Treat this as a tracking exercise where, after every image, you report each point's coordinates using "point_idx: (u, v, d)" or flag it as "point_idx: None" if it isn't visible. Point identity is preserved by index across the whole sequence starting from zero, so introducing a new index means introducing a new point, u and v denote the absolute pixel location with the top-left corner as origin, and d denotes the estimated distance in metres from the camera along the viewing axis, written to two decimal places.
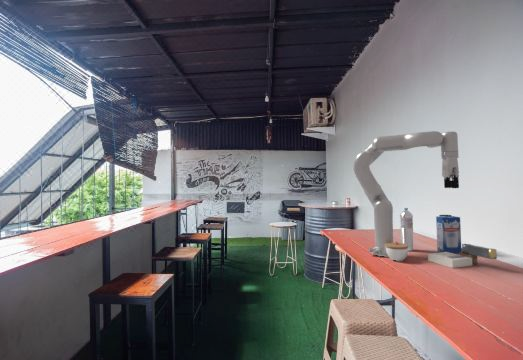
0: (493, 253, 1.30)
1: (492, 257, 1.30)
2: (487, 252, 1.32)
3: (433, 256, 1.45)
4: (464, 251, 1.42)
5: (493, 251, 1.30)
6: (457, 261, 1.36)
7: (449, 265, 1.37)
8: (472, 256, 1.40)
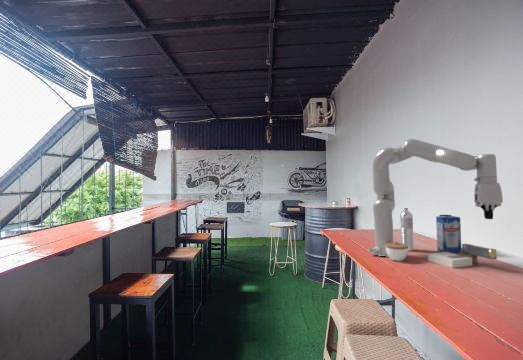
0: (493, 253, 1.30)
1: (492, 257, 1.30)
2: (487, 252, 1.32)
3: (433, 256, 1.45)
4: (464, 251, 1.42)
5: (493, 251, 1.30)
6: (457, 261, 1.36)
7: (449, 265, 1.37)
8: (472, 256, 1.40)
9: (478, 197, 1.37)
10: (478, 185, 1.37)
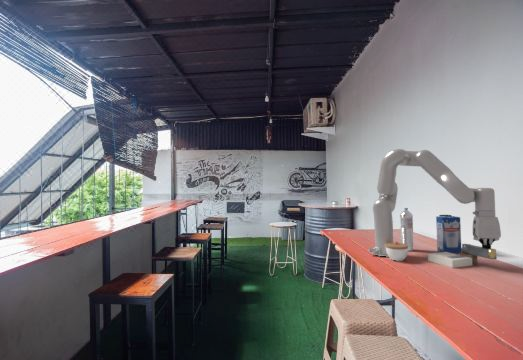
0: (493, 253, 1.30)
1: (492, 257, 1.30)
2: (487, 252, 1.32)
3: (433, 256, 1.45)
4: (464, 251, 1.42)
5: (493, 251, 1.30)
6: (457, 261, 1.36)
7: (449, 265, 1.37)
8: (472, 256, 1.40)
9: (476, 231, 1.36)
10: (476, 219, 1.37)
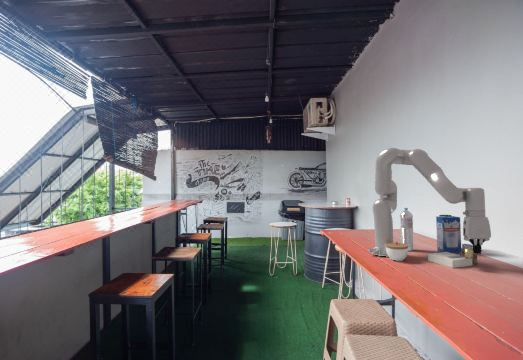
0: (466, 252, 1.32)
1: (465, 256, 1.33)
2: None
3: (433, 256, 1.45)
4: (462, 250, 1.44)
5: (466, 250, 1.32)
6: (457, 261, 1.36)
7: (449, 265, 1.37)
8: None
9: (466, 231, 1.35)
10: (466, 219, 1.36)
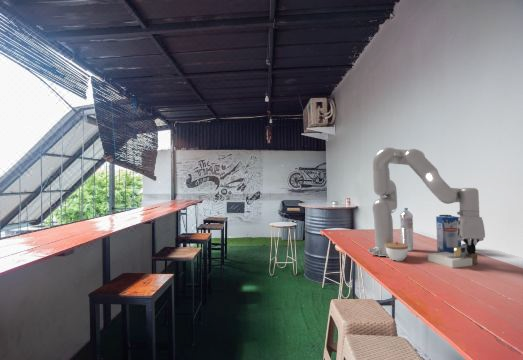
0: (454, 251, 1.36)
1: (454, 255, 1.36)
2: None
3: (433, 256, 1.45)
4: None
5: (454, 249, 1.36)
6: (457, 261, 1.36)
7: (449, 265, 1.37)
8: (472, 256, 1.40)
9: (460, 231, 1.36)
10: (460, 219, 1.36)
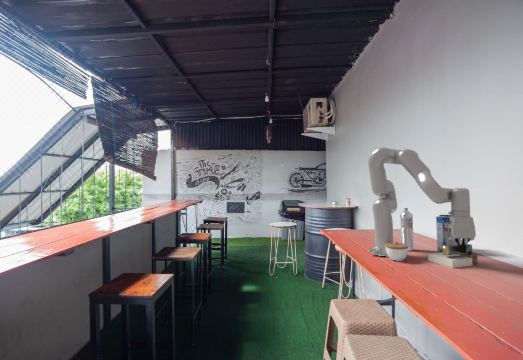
0: None
1: None
2: None
3: (433, 256, 1.45)
4: None
5: None
6: (457, 261, 1.36)
7: (449, 265, 1.37)
8: (472, 256, 1.40)
9: (452, 231, 1.38)
10: (452, 219, 1.38)
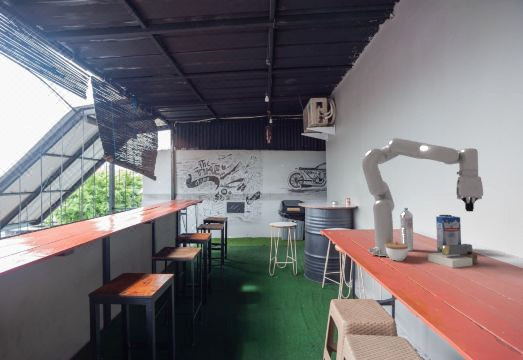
0: (442, 248, 1.42)
1: None
2: None
3: (433, 256, 1.45)
4: None
5: (442, 246, 1.42)
6: (457, 261, 1.36)
7: (449, 265, 1.37)
8: (472, 256, 1.40)
9: (459, 190, 1.42)
10: (460, 178, 1.42)
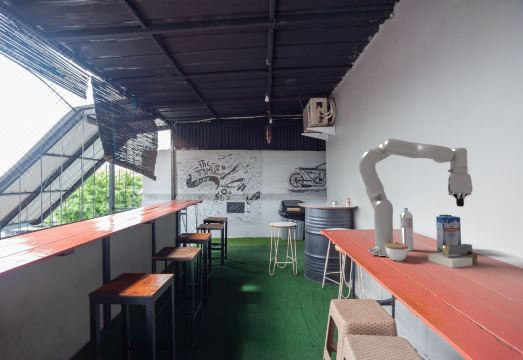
0: (442, 248, 1.42)
1: None
2: None
3: (433, 256, 1.45)
4: None
5: (442, 246, 1.42)
6: (457, 261, 1.36)
7: (449, 265, 1.37)
8: (472, 256, 1.40)
9: (451, 186, 1.52)
10: (451, 176, 1.52)
